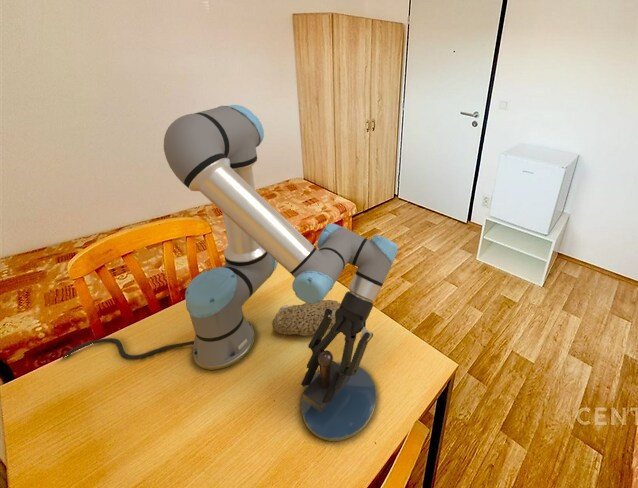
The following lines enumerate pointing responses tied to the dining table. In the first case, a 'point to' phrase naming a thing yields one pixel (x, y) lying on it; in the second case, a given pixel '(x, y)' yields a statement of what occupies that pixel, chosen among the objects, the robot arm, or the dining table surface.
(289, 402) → the dining table surface
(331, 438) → the plate
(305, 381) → the robot arm
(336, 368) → the stamp
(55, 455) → the dining table surface
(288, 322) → the sponge
